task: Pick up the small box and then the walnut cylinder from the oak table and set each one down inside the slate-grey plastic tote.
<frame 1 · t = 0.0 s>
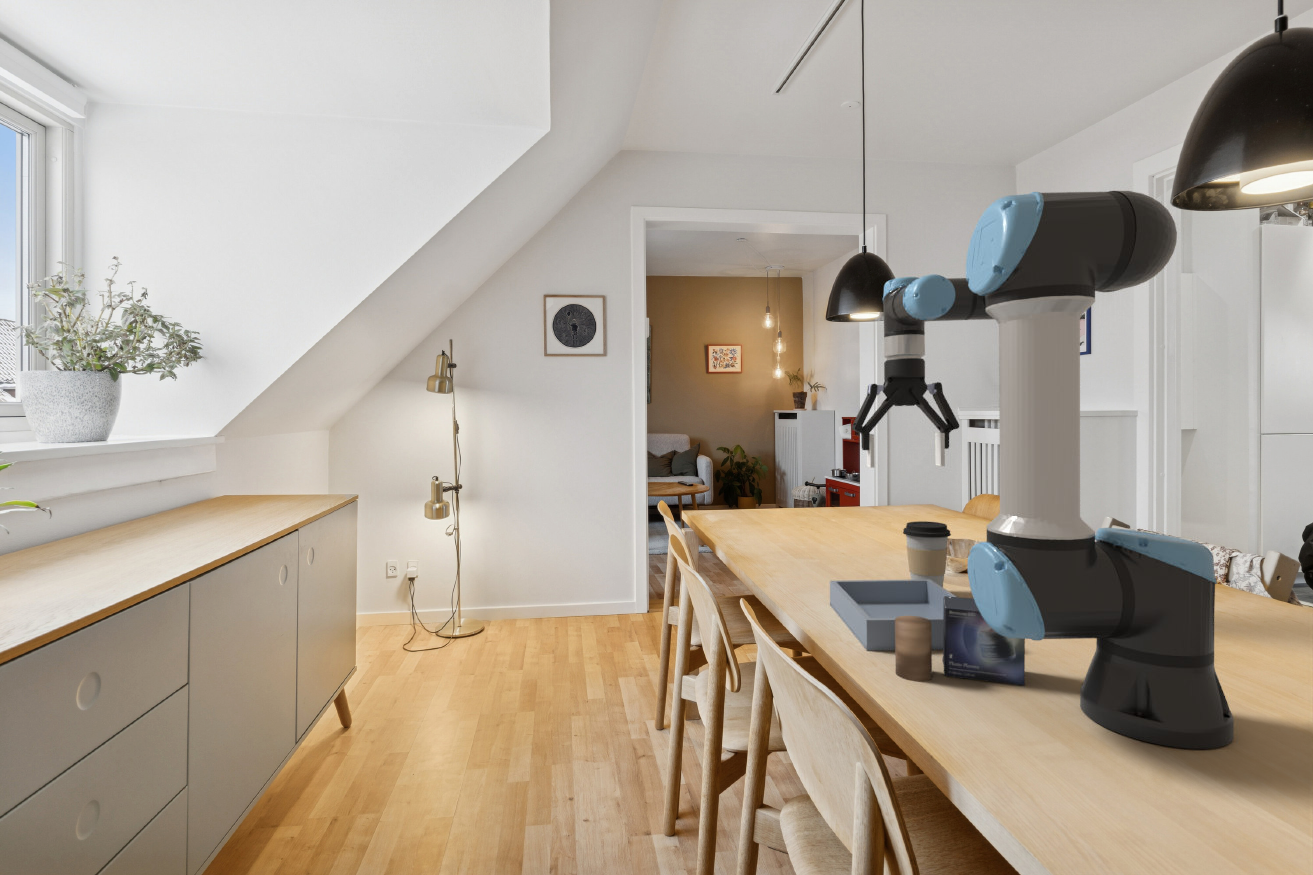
hand: (905, 466, 131), 28 cm above the table, fingers open, 13 cm apart
walnut cylinder: (913, 674, 98), on the table
tote: (901, 624, 120), on the table
coffee cup: (927, 595, 140), on the table
small box: (982, 675, 97), on the table
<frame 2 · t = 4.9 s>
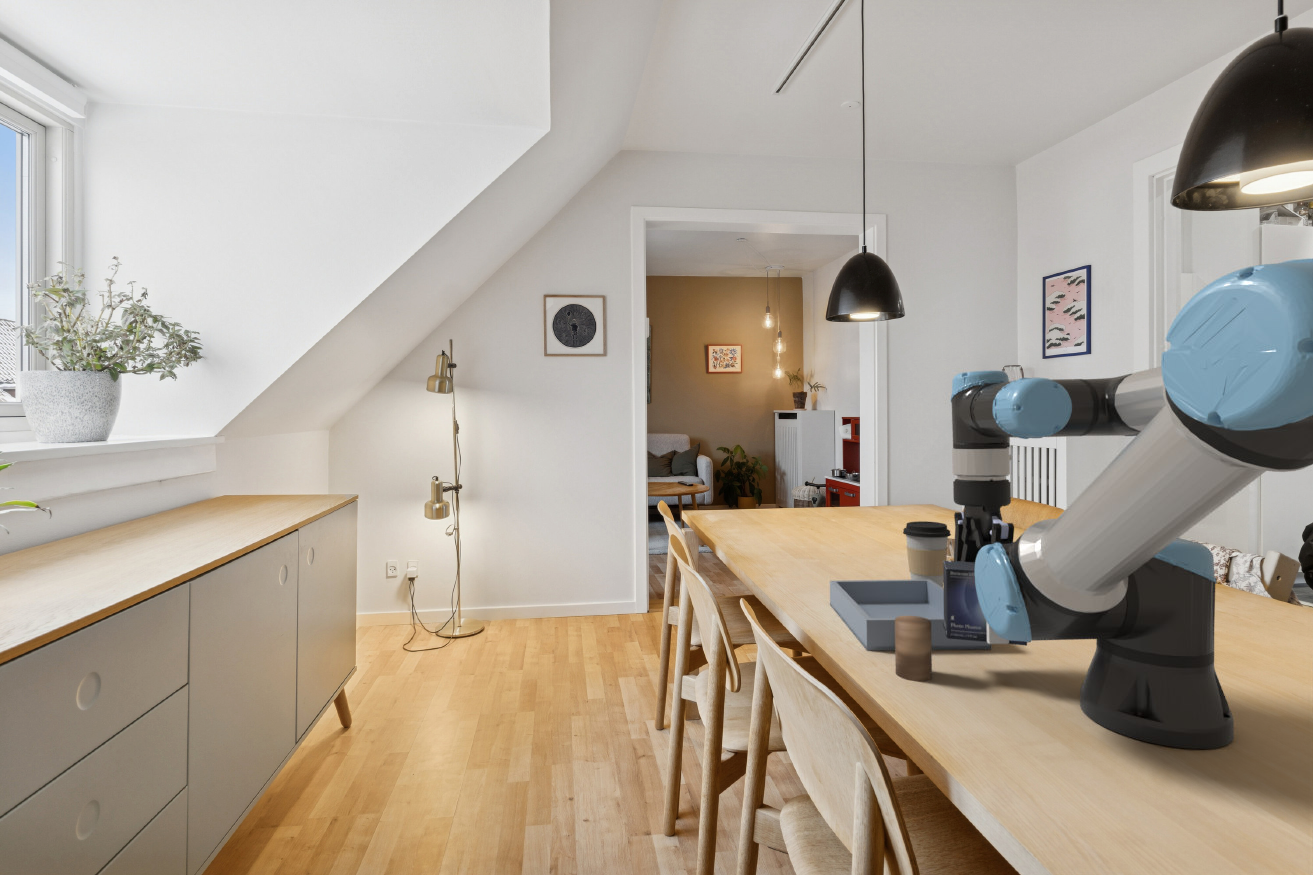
hand: (984, 633, 96), 6 cm above the table, fingers closed on small box, 8 cm apart
small box: (983, 638, 96), point 5 cm above the table, touching gripper
everything else where it was.
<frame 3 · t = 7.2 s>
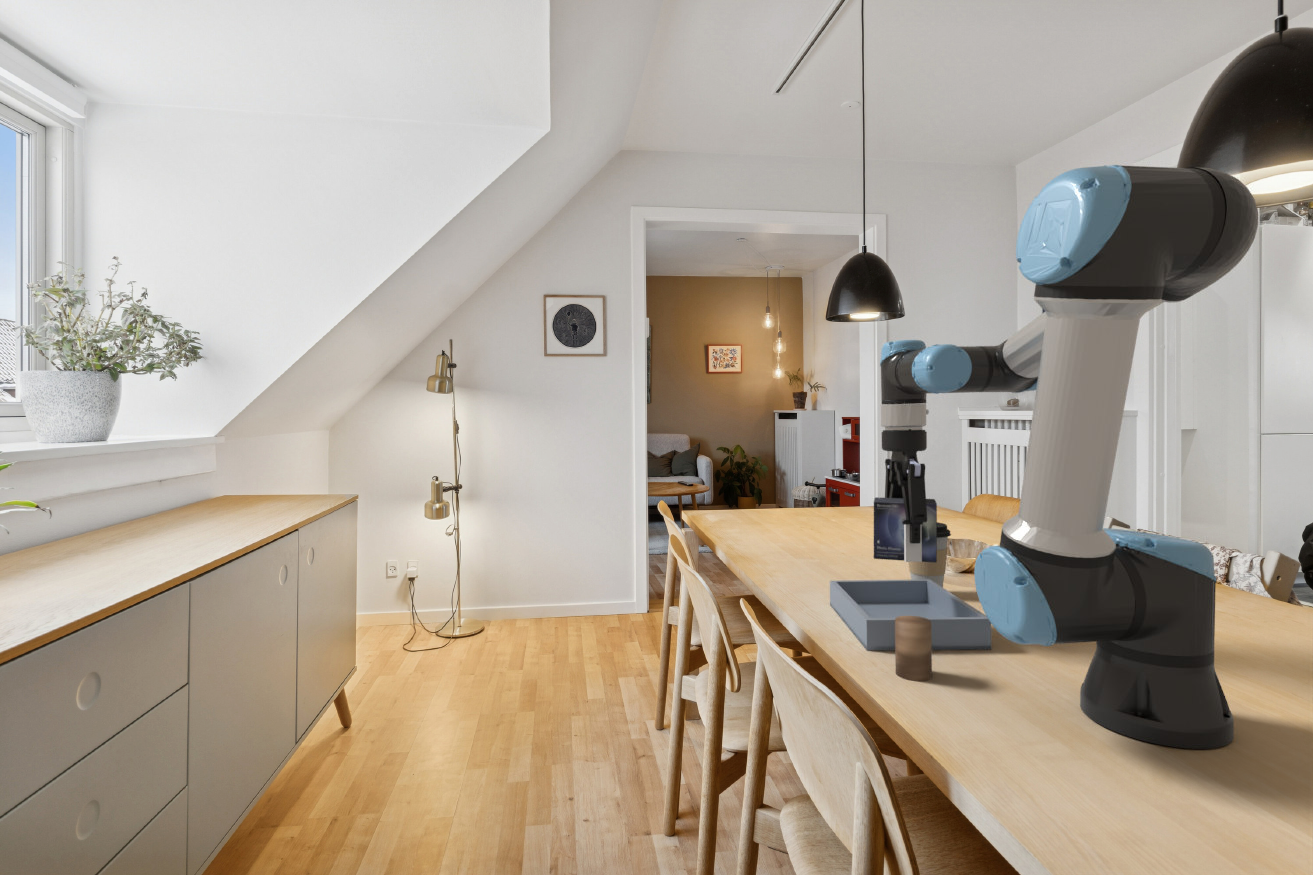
hand: (904, 555, 118), 13 cm above the table, fingers closed on small box, 8 cm apart
small box: (904, 559, 118), point 12 cm above the table, touching gripper
everything else where it was.
when the fingers open (2 cm above the table, at t = 9.4 s): small box drops 1 cm, resting on tote.
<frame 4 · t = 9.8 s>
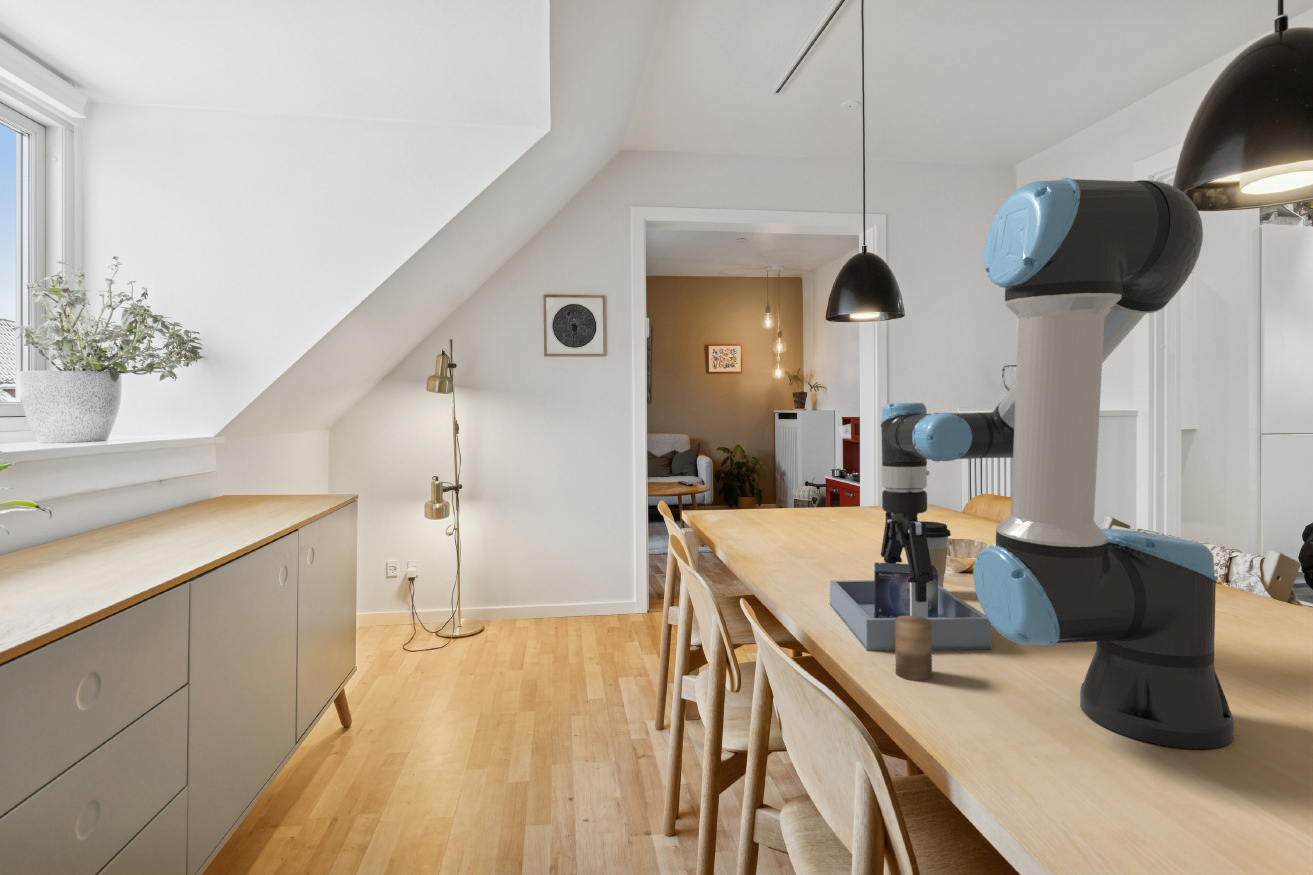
hand: (905, 608, 118), 4 cm above the table, fingers open, 13 cm apart
small box: (905, 626, 118), resting on tote
everything else where it was.
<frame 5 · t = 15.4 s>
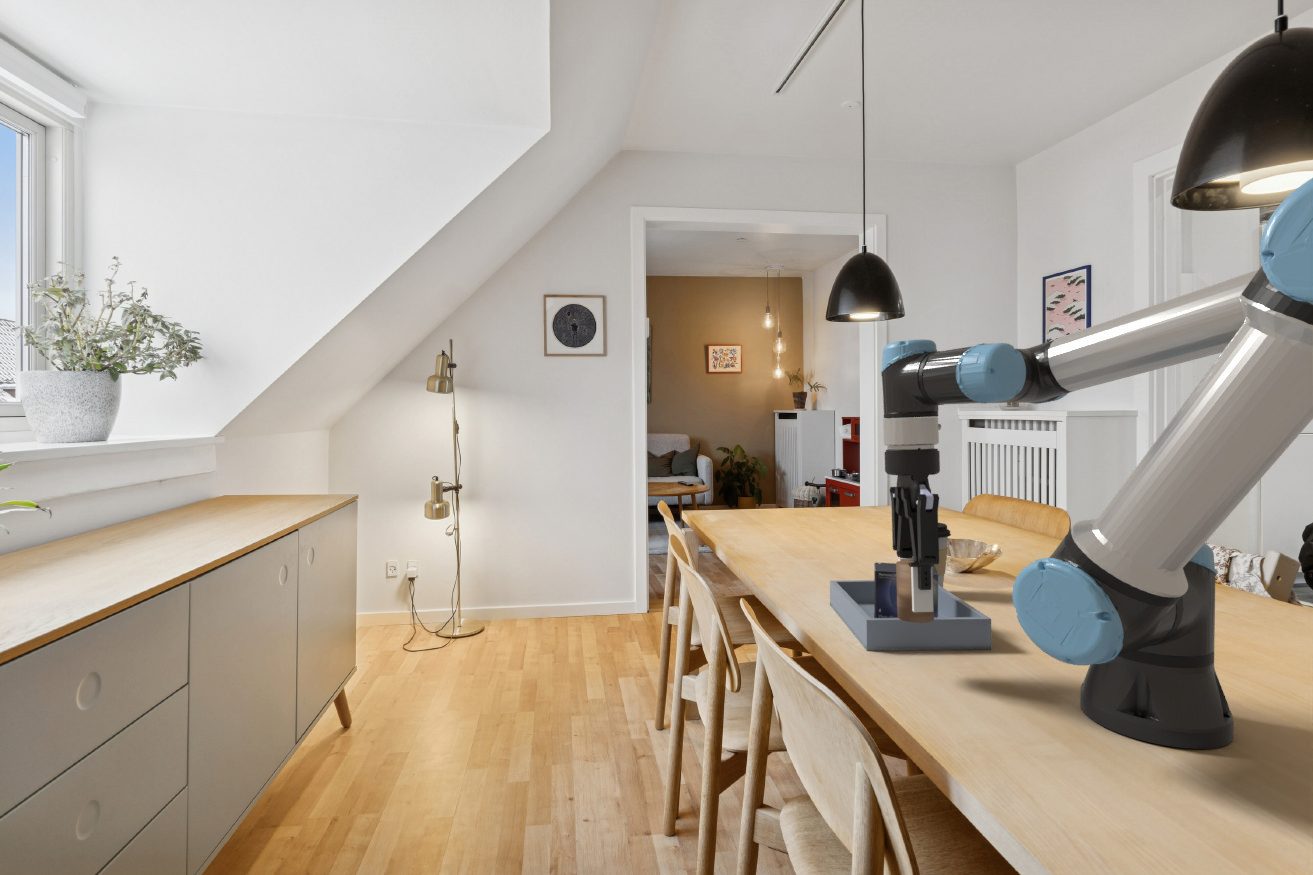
hand: (915, 605, 97), 10 cm above the table, fingers closed on walnut cylinder, 5 cm apart
walnut cylinder: (915, 617, 97), point 9 cm above the table, touching gripper
everything else where it was.
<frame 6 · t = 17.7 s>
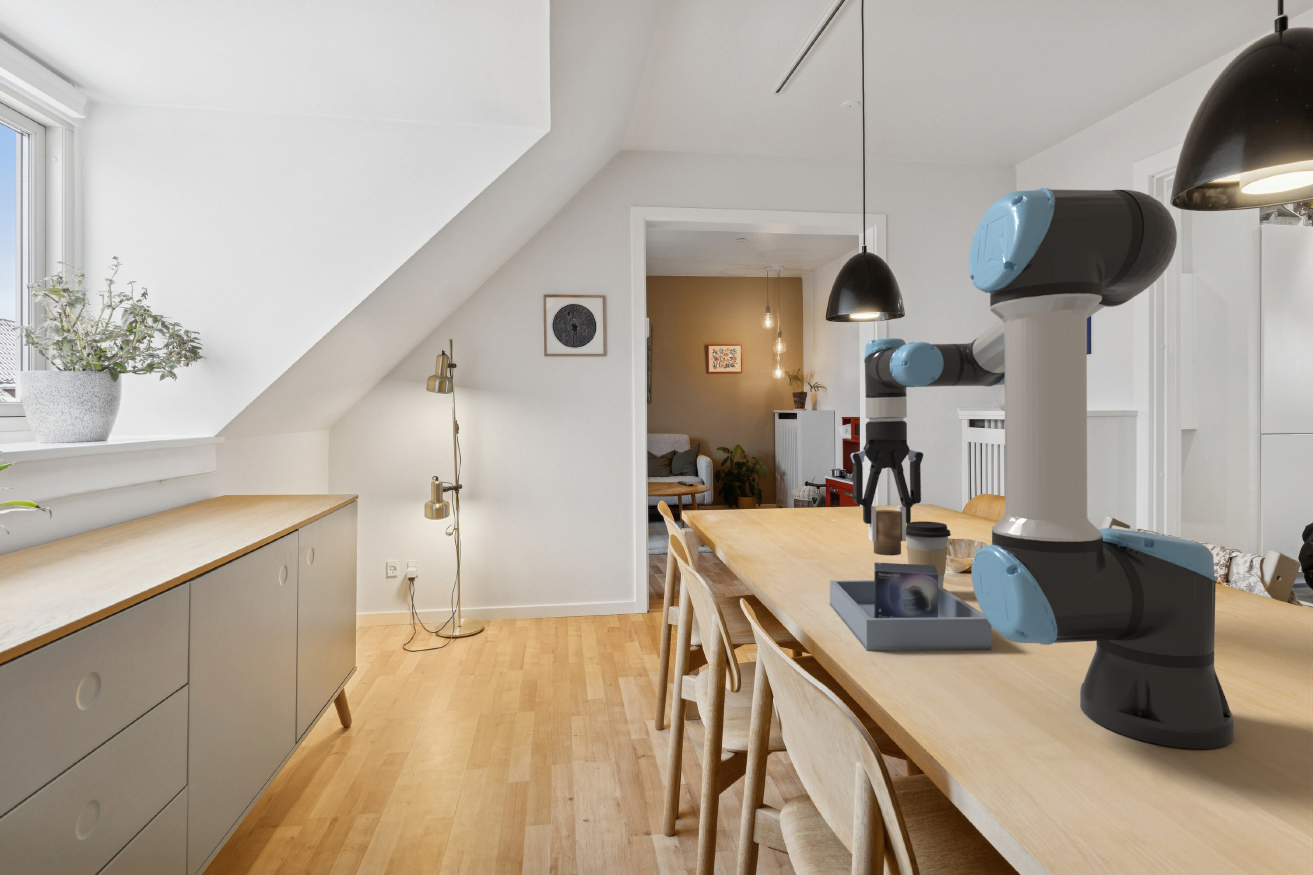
hand: (887, 539, 128), 14 cm above the table, fingers closed on walnut cylinder, 5 cm apart
walnut cylinder: (887, 552, 128), point 12 cm above the table, touching gripper
everything else where it was.
when the fingers open (1 cm above the table, at t = 20.2 s): walnut cylinder stays where it is, resting on tote.
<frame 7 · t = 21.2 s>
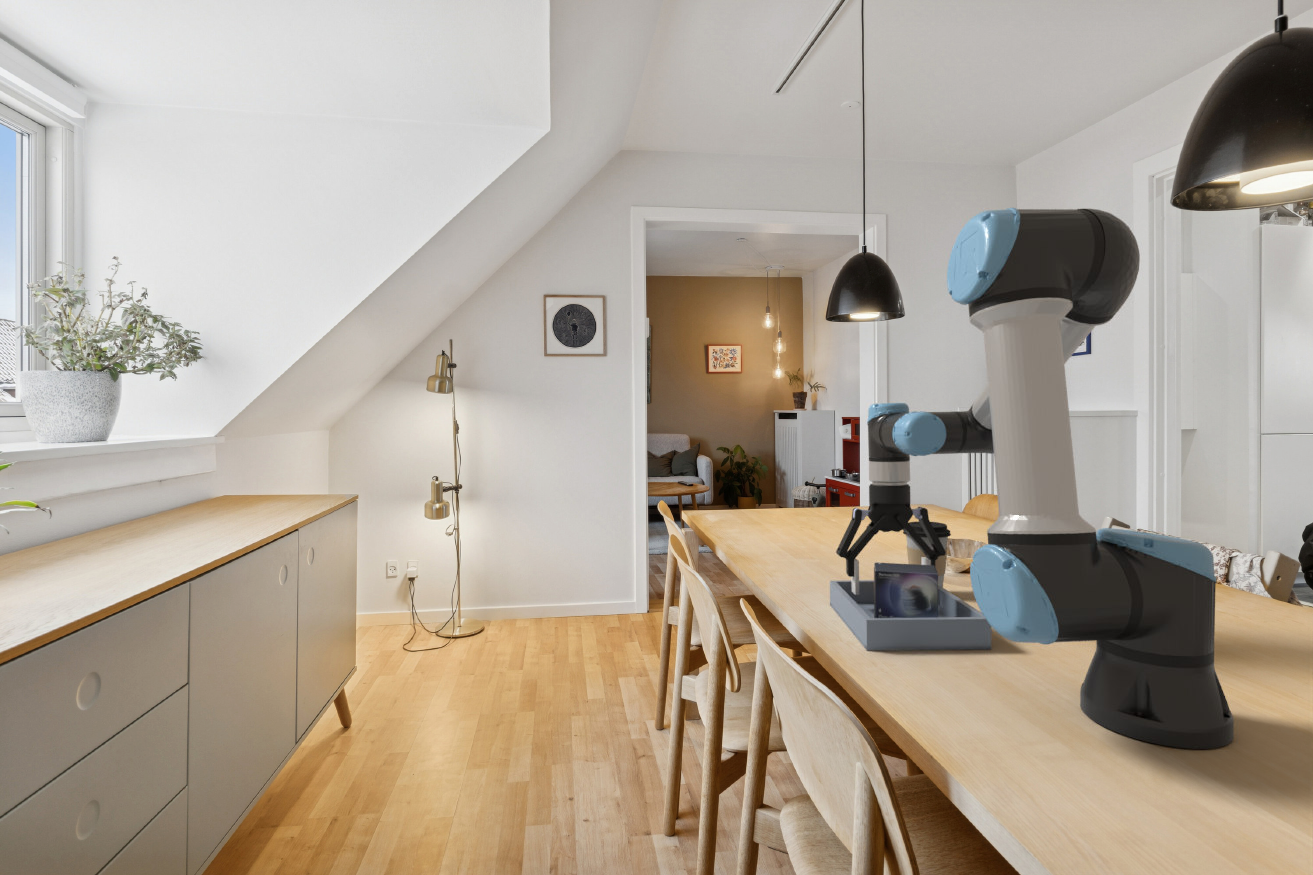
hand: (890, 592, 128), 4 cm above the table, fingers open, 13 cm apart
walnut cylinder: (887, 609, 128), point 1 cm above the table, touching tote
everything else where it was.
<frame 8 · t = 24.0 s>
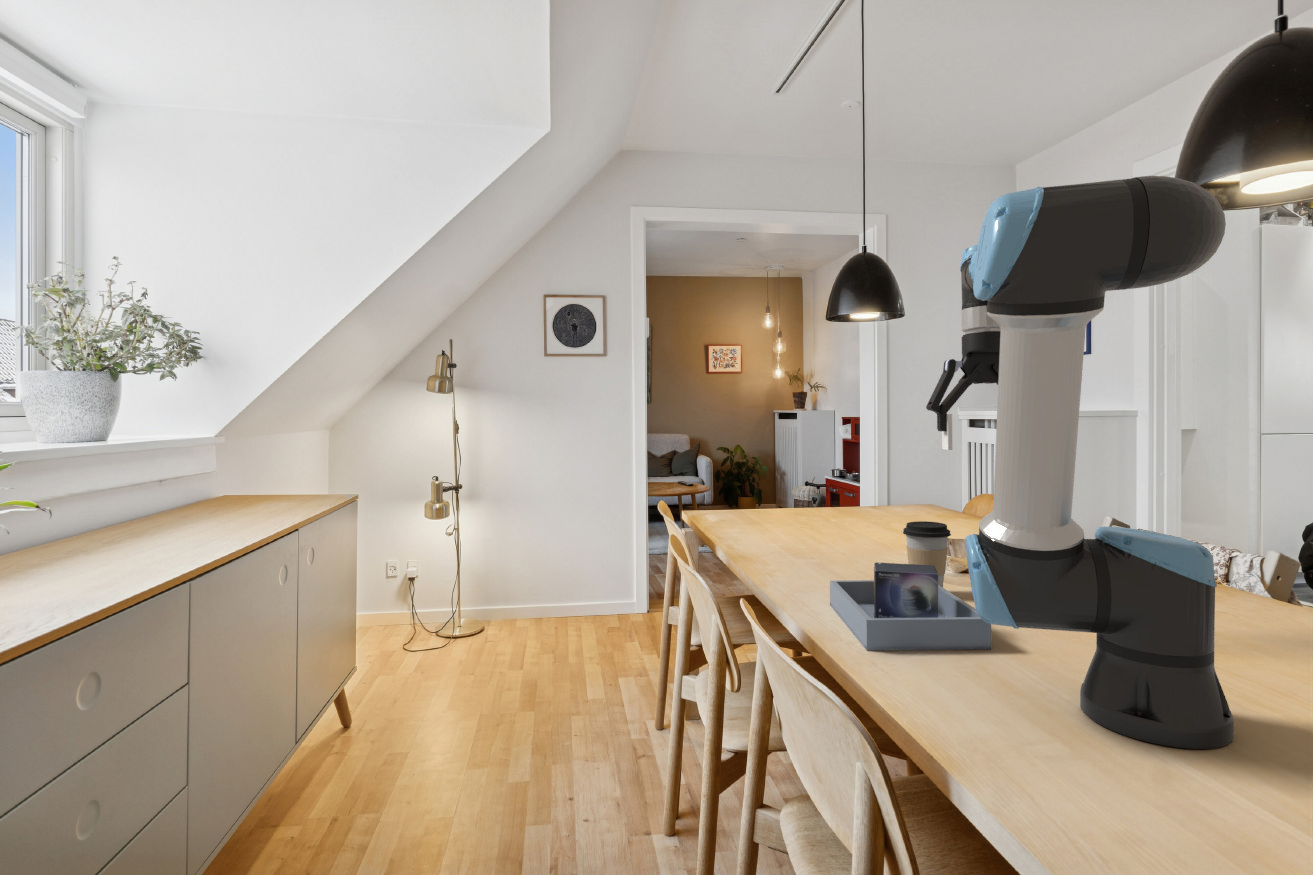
hand: (984, 449, 121), 32 cm above the table, fingers open, 13 cm apart
nothing on the table moved.
at the end: small box inside the target area on the tote (2.0 cm from its centre), point 0.4 cm above the tote's base; walnut cylinder inside the target area on the tote (7.8 cm from its centre), point 0.6 cm above the tote's base; the gripper is holding nothing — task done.
